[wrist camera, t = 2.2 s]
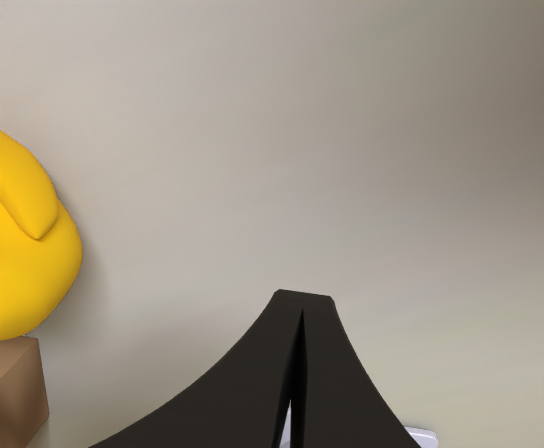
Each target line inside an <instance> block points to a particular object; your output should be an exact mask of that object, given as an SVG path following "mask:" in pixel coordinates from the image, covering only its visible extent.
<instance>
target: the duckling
mask: <svg viewBox="0 0 544 448" xmlns="http://www.w3.org/2000/svg"><path fill="white" fill-rule="evenodd" d="M82 255H83V251H82V244H81V239H80V236H79V233H78V230H77V228H76V225H75V223H74V222H73V220H72V218H71V217H70V215H69V213H68V212H67V210H66V209H65V208H64V206H63V205H62V203H61V202H60V201H59V199H58V198H57V195H56V192H55V189H54V186H53V184H52V182H51V180H50V178H49V177H48V175H47V173H46V172H45V170H44V169H43V167H42V166H41V165H40V163H39V162H38V161H37V159H36V158H35V157H34V155H33V154H32V153H31V152H30V151H29V150H28V149H26V148H25V147H24V146H22V145H21V144H19V143H18V142H17V141H15V140H14V139H12V138H11V137H9V136H8V135H7V134H5V133H4V132H2V131H1V130H0V341H1V340H7V339H12V338H16V337H19V336H22V335H24V334H26V333H28V332H30V331H31V330H33V329H34V328H36V327H37V326H38V325H39V324H40V323H41V322H43V321H44V320H45V319H46V318H47V317H48V316H49V314H50V313H51V312H52V311H53V310H54V309H55V307H56V306H57V305H58V304H59V303H60V301H61V300H62V299H63V297H64V296H65V294H66V293H67V292H68V290H69V289H70V287H71V286H72V284H73V282H74V280H75V278H76V276H77V274H78V272H79V269H80V266H81V263H82Z"/></svg>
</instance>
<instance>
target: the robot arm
mask: <svg viewBox="0 0 544 448" xmlns="http://www.w3.org/2000/svg"><path fill="white" fill-rule="evenodd" d="M290 400H291V408H289V404H290ZM437 447H438V439H437V436H436V434H435V433H433V432H432V431H429V430H423V429H417V428H411V427H405V426H403V425H402V424H401V422H400V421H399V420H398V419H397V417H396V416H395V415H394V413H393V412H392V410H391V409H390V408H389V406H388V405H387V404H386V402H385V401H384V399H383V398H382V396H381V395H380V393H379V392H378V390H377V389H376V387H375V386H374V384H373V383H372V381H371V379H370V378H369V376H368V374H367V373H366V371H365V369H364V368H363V366H362V364H361V362H360V360H359V359H358V357H357V355H356V353H355V351H354V349H353V347H352V345H351V343H350V341H349V339H348V337H347V335H346V333H345V330H344V328H343V326H342V323H341V321H340V318H339V316H338V313H337V310H336V307H335V303H334V300H333V299H332V298H331V297H330V296H325V295H318V294H311V293H304V292H297V291H290V290H283V289H279V290H277V291H276V292H274V294H273V296H272V298H271V300H270V301H269V303H268V305H267V306H266V308H265V309H264V310H263V312H262V313H261V314H260V316H259V317H258V318H257V320H256V321H255V322H254V323H253V325H252V326H251V327H250V328H249V329H248V331H247V332H246V333H245V334H244V335H243V336H242V338H241V339H240V340H239V341H238V342H237V343H236V344H235V345H234V346H233V347H232V348H231V349H230V350H229V351H228V352H227V353H226V354H225V355H224V356H223V357H222V358H221V359H220V360H219V361H218V362H217V363H216V364H215V365H214V366H213V367H212V368H210V369H209V370H208V371H207V372H206V373H205V374H203V375H202V376H201V377H200V378H199V379H197V380H196V381H195V382H194V383H193V384H191V385H190V386H189V387H187V388H186V389H185V390H183V391H182V392H181V393H179V394H178V395H177V396H175V397H174V398H173V399H171V400H170V401H168V402H167V403H165V404H164V405H163V406H161V407H160V408H158V409H157V410H155V411H153V412H152V413H150V414H148V415H147V416H145V417H144V418H142V419H140V420H139V421H137V422H135V423H134V424H132V425H130V426H129V427H127V428H125V429H124V430H122V431H120V432H118V433H117V434H115V435H113V436H111V437H109V438H107V439H105V440H103V441H101V442H99V443H97V444H95V445H93V446H91V447H89V448H437Z"/></svg>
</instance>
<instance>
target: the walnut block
mask: <svg viewBox="0 0 544 448" xmlns="http://www.w3.org/2000/svg"><path fill="white" fill-rule="evenodd" d="M48 416H49V408H48V401H47V395H46V389H45V382H44V376H43V369H42V363H41V357H40V350H39V344H38V339H37V338H30V337H24V336H19V337H16V338H12V339H7V340H1V341H0V448H25V447H26V446H27V445H28V443H29V442H30V441H31V439H32V438H33V436H34V435H35V434H36V432H37V431H38V429H39V428H40V427H41V425H42V424H43V423H44V421H45V420H46V418H47V417H48Z"/></svg>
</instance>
